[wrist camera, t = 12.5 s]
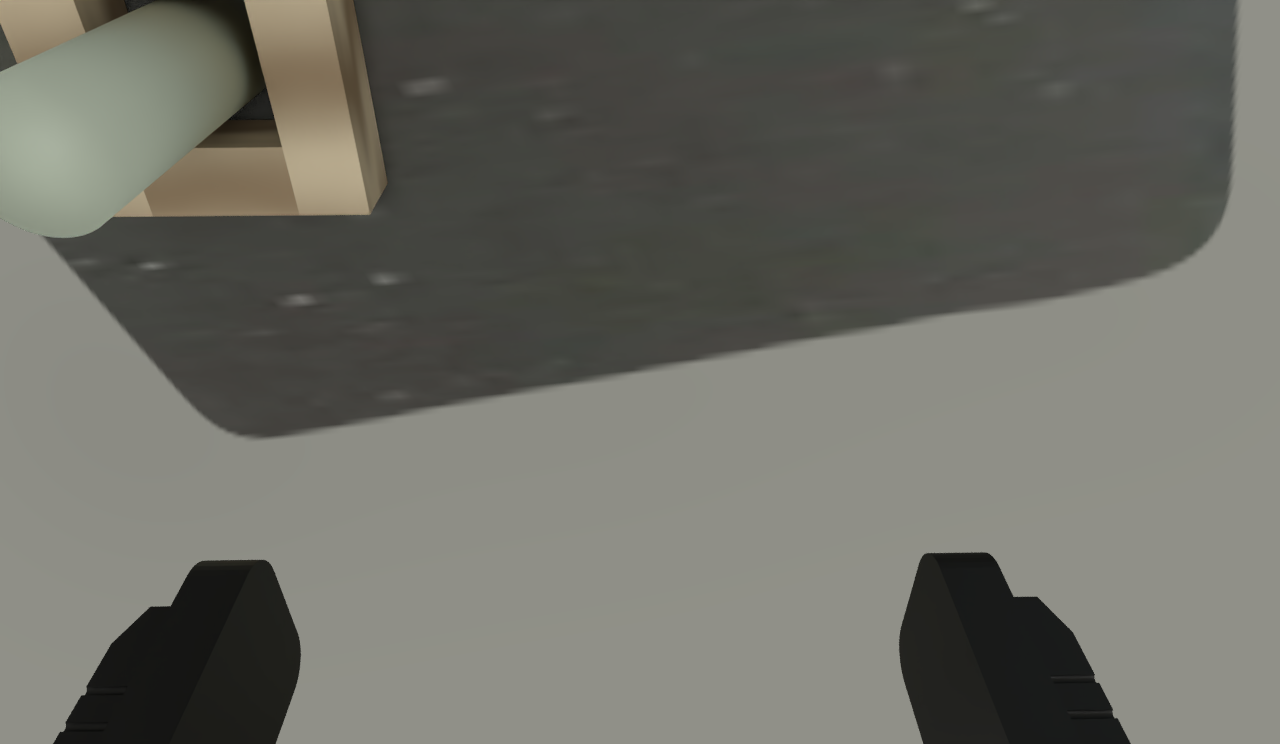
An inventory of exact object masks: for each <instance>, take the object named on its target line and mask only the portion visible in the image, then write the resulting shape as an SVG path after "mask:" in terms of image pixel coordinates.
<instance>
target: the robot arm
mask: <svg viewBox="0 0 1280 744" xmlns="http://www.w3.org/2000/svg"><path fill="white" fill-rule="evenodd" d="M300 652H301V650H300V641H299V636H298V633H297V630H296V628H295V625H294V623H293V620H292V617H291V615H290V613H289V609H288V607H287V604H286V601H285V599H284V596H283V593H282V591H281V588H280V585H279V583H278V580H277V578H276V575H275V572H274V570H273V568H272V566H271V564H270V563H269V562H267V561H266V560H221V561H201V562H199V563H197V564H196V565H195V566H194V567H193V568H192V569H191V571H190V572H189V574H188V575H187V577H186V579H185V581H184V583H183V585H182V586H181V588H180V590H179V592H178V594H177V596H176V597H175V599H174V601H173V603H172V605H171V606H167V607H150V608H149V609H148V610H147V611H146V612H144V613H143V614H142V615H141V616H140V617H139V618H138V619H137V620H136V621H135V622H134V623H133V624H132V625H131V626H130V627H129V628H128V629H127V630H126V631H125V632H123V633H122V634H121V635H120V636H119V637H118V638H117V639H116V640H115V641H114V642H113V643H112V644H111V645H110V647H109V649H108V651H107V653H106V654H105V656H104V658H103V659H102V661H101V663H100V665H99V666H98V668H97V670H96V671H95V673H94V675H93V676H92V678H91V680H90V682H89V683H88V685H87V692H86V694H85V695H83V696H81V697H80V699H79V700H78V702H77V704H76V706H75V707H74V709H73V711H72V712H71V714H70V716H69V717H68V719H67V721H66V729H65V731H64V732H60V733H59V735H58V736H57V738H56V740H55V742H54V743H53V744H276V741H277V738H278V735H279V733H280V730H281V727H282V724H283V721H284V718H285V716H286V713H287V710H288V707H289V705H290V702H291V699H292V696H293V693H294V690H295V687H296V684H297V680H298V675H299V670H300V657H301V653H300ZM899 652H900V663H901V669H902V674H903V678H904V682H905V685H906V689H907V691H908V695H909V698H910V702H911V705H912V708H913V711H914V715H915V718H916V721H917V724H918V728H919V731H920V734H921V737H922V741H923V744H1131V743H1130V742H1129V740H1128V738H1127V736H1126V734H1125V732H1124V730H1123V728H1122V726H1121V724H1120V722H1119V720H1118V719H1117V718H1114V717H1113V713H1112V710H1113V709H1112V707H1111V705H1110V703H1109V701H1108V699H1107V697H1106V695H1105V693H1104V692H1103V690H1102V688H1101V686H1100V684H1099V683H1096V682H1095V679H1094V675H1095V674H1094V672H1093V670H1092V668H1091V666H1090V664H1089V663H1088V661H1087V659H1086V657H1085V655H1084V653H1083V651H1082V649H1081V647H1080V645H1079V644H1078V641H1077V640H1076V638H1075V636H1074V634H1073V632H1072V631H1071V630H1070V629H1069V628H1068V627H1067V626H1066V625H1065V624H1064V623H1063V622H1062V621H1061V620H1060V619H1059V618H1058V617H1057V616H1056V615H1055V614H1054V613H1053V612H1052V611H1051V610H1050V609H1049V608H1048V607H1047V606H1046V605H1045V604H1044V603H1043V602H1042V601H1041V600H1040V599H1039V598H1038V597H1013V595H1012V593H1011V591H1010V589H1009V586H1008V584H1007V582H1006V581H1005V578H1004V576H1003V574H1002V572H1001V569H1000V567H999V565H998V564H997V562H996V560H995V559H994V558H993V557H992V556H991V555H990V554H988V553H927V554H924V555H923V556H922V558H921V560H920V563H919V566H918V570H917V573H916V577H915V581H914V584H913V587H912V591H911V594H910V598H909V601H908V605H907V609H906V612H905V615H904V619H903V622H902V626H901V630H900V639H899Z"/></svg>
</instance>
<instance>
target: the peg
mask: <svg viewBox="0 0 1280 744" xmlns="http://www.w3.org/2000/svg"><path fill="white" fill-rule="evenodd" d="M265 87H266V83H265V79H264V75H263V72H262V68H261V64H260V60H259V56H258V52H257V48H256V44H255V41H254V37H253V33H252V29H251V25H250V21H249V17H248V14H247V10H246V6H245V2H244V1H243V0H156V1H154V2H151V3H149V4H147V5H145V6H143V7H141V8H138V9H136V10H134V11H132V12H130V13H128V14H125V15H123V16H121V17H119V18H117V19H114V20H112V21H110V22H108V23H106V24H104V25H101V26H99V27H97V28H95V29H93V30H91V31H88V32H86V33H84V34H82V35H80V36H77V37H75V38H73V39H71V40H69V41H67V42H64V43H62V44H60V45H58V46H56V47H54V48H51V49H49V50H47V51H45V52H43V53H40V54H38V55H36V56H34V57H32V58H30V59H27V60H25V61H23V62H21V63H19V64H17V65H14V66H12V67H10V68H8V69H6V70H3V71H1V72H0V218H1V219H3V220H4V221H6V222H8V223H10V224H12V225H14V226H16V227H18V228H20V229H23V230H25V231H28V232H31V233H35V234H38V235H42V236H48V237H56V238H69V237H77V236H82V235H85V234H88V233H91V232H93V231H95V230H96V229H98V228H100V227H101V226H102V225H103V224H104V223H106V222H107V221H108V220H109V219H110V218H111V217H113V216H114V215H115V214H116V213H117V212H119V211H120V210H121V209H122V208H123V207H125V206H126V205H127V204H128V203H129V202H131V201H132V200H133V199H134V198H135V197H136V196H138V195H139V194H140V193H141V192H142V191H144V190H145V189H146V188H147V187H148V186H150V185H151V184H152V183H153V182H154V181H155V180H157V179H158V178H159V177H160V176H161V175H163V174H164V173H165V172H166V171H167V170H169V169H170V168H171V167H172V166H173V165H174V164H176V163H177V162H178V161H179V160H180V159H182V158H183V157H184V156H185V155H186V154H188V153H189V152H190V151H191V150H192V149H193V148H195V147H196V146H197V145H198V144H199V143H201V142H202V141H203V140H204V139H205V138H207V137H208V136H209V135H210V134H211V133H212V132H214V131H215V130H216V129H217V128H218V127H220V126H221V125H222V124H223V123H224V122H226V121H227V120H228V119H229V118H230V117H231V116H233V115H234V114H235V113H236V112H237V111H239V110H240V109H241V108H242V107H243V106H245V105H246V104H247V103H248V102H249V101H250V100H252V99H253V98H254V97H255V96H256V95H258V94H259V93H260V92H261V91H262V90H263V89H264V88H265Z"/></svg>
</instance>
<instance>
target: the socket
mask: <svg viewBox="0 0 1280 744" xmlns="http://www.w3.org/2000/svg"><path fill="white" fill-rule="evenodd" d="M244 2H245V6H246V10H247V14H248V17H249V21H250V25H251V29H252V33H253V37H254V41H255V44H256V48H257V52H258V56H259V60H260V64H261V68H262V72H263V75H264V79H265V83H266V87H267V91H268V95H269V99H270V103H271V106H272V110H273V114H274V118H275V120H227V121H226V122H224V123H223V124H222V125H221V126H220V127H218V128H217V129H216V130H215V131H214V132H212V133H211V134H210V135H209V136H208V137H207V138H205V139H204V140H203V141H202V142H201V143H199V144H198V145H197V146H196V147H195V148H193V149H192V150H191V151H190V152H189V153H188V154H186V155H185V156H184V157H183V158H182V159H180V160H179V161H178V162H177V163H176V164H174V165H173V166H172V167H171V168H170V169H169V170H167V171H166V172H165V173H164V174H163V175H161V176H160V177H159V178H158V179H157V180H155V181H154V182H153V183H152V184H151V185H150V186H148V187H147V188H146V189H145V190H144V191H142V192H141V193H140V194H139V195H138V196H136V197H135V198H134V199H133V200H132V201H131V202H129V203H128V204H127V205H126V206H125V207H123V208H122V209H121V210H120V211H119V212H117V213H116V214H115V215H114V216H113V217H149V216H268V215H370V214H371V212H372V210H373V208H374V207H375V205H376V203H377V201H378V200H379V198H380V196H381V194H382V193H383V191H384V189H385V187H386V185H387V184H388V182H387V177H386V172H385V166H384V161H383V156H382V150H381V145H380V140H379V134H378V129H377V124H376V118H375V113H374V108H373V102H372V97H371V92H370V86H369V81H368V76H367V70H366V65H365V60H364V54H363V49H362V44H361V38H360V33H359V28H358V22H357V17H356V12H355V6H354V1H353V0H244ZM125 14H128V11H127V8H126V5H125V2H124V0H0V24H1V26H2V28H3V31H4V33H5V35H6V38H7V40H8V42H9V45H10V47H11V50H12V52H13V54H14V57H15V59H16V61H17V64H19V63H21V62H23V61H25V60H27V59H30V58H32V57H34V56H36V55H38V54H40V53H43V52H45V51H47V50H49V49H51V48H54V47H56V46H58V45H60V44H62V43H64V42H67V41H69V40H71V39H73V38H75V37H77V36H80V35H82V34H84V33H86V32H88V31H91V30H93V29H95V28H97V27H99V26H101V25H104V24H106V23H108V22H110V21H112V20H114V19H117V18H119V17H121V16H123V15H125Z"/></svg>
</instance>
